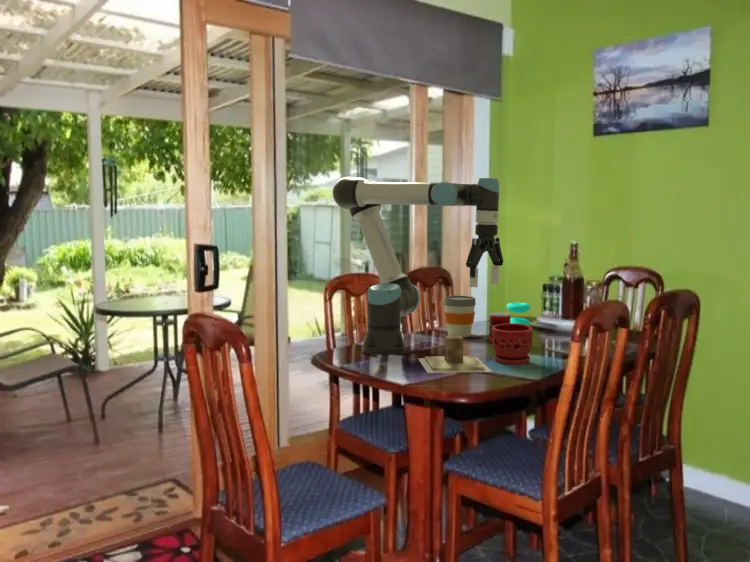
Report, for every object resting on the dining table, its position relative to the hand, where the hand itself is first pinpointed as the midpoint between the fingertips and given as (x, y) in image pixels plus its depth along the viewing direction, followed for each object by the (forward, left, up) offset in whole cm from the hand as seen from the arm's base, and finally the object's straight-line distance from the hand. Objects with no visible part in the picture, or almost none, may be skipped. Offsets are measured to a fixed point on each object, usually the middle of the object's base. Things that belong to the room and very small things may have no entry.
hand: (484, 285), depth 234 cm
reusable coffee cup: (-1, +34, -24) cm, 42 cm away
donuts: (+28, +51, -24) cm, 63 cm away
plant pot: (+6, -15, -24) cm, 29 cm away
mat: (-14, -19, -24) cm, 33 cm away
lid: (-14, -19, -23) cm, 33 cm away
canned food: (+11, +18, -24) cm, 32 cm away
